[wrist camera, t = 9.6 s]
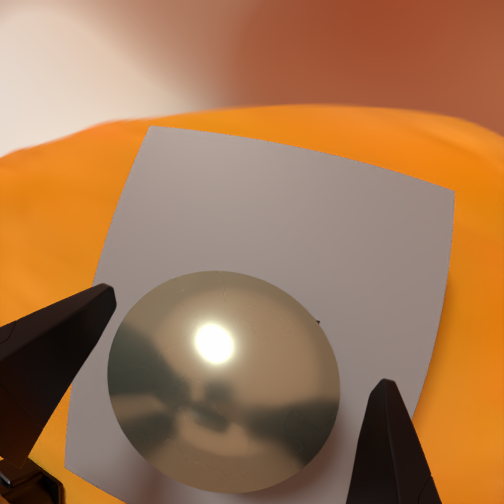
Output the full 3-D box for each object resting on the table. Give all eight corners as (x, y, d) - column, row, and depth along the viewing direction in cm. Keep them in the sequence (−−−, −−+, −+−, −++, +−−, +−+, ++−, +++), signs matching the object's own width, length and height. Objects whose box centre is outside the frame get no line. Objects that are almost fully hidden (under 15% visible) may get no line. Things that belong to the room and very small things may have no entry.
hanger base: (331, 513, 14) (340, 558, 10) (105, 443, 17) (64, 467, 12) (418, 220, 18) (454, 191, 13) (178, 165, 20) (150, 125, 15)
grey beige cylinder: (293, 422, 15) (296, 514, 7) (182, 389, 16) (94, 442, 8) (326, 310, 16) (369, 304, 8) (211, 280, 17) (137, 245, 9)
